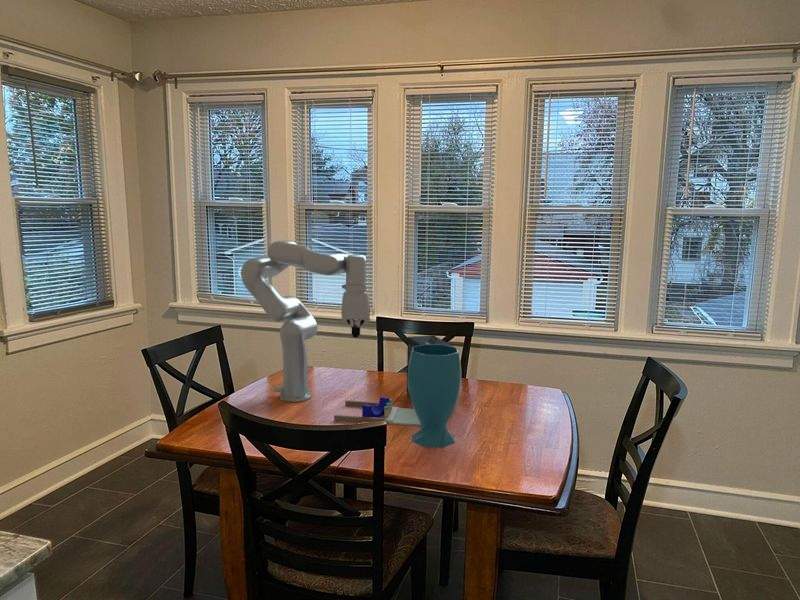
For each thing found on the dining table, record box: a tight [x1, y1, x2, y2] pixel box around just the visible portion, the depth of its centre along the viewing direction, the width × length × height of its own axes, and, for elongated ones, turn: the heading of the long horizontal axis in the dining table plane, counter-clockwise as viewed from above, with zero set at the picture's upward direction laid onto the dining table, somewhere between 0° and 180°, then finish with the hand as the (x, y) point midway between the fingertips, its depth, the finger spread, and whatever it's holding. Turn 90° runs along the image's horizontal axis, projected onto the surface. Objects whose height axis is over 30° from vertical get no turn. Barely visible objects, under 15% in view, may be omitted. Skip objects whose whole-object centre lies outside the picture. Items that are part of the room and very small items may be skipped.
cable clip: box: [361, 395, 390, 418], centre depth 200 cm, size 12×4×6 cm, turn 145°
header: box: [333, 398, 421, 427], centre depth 201 cm, size 33×17×5 cm, turn 81°
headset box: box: [406, 334, 454, 395], centre depth 217 cm, size 22×12×26 cm, turn 19°
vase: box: [408, 344, 462, 449], centre depth 179 cm, size 17×17×30 cm
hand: (355, 336), depth 207 cm, fingers closed
